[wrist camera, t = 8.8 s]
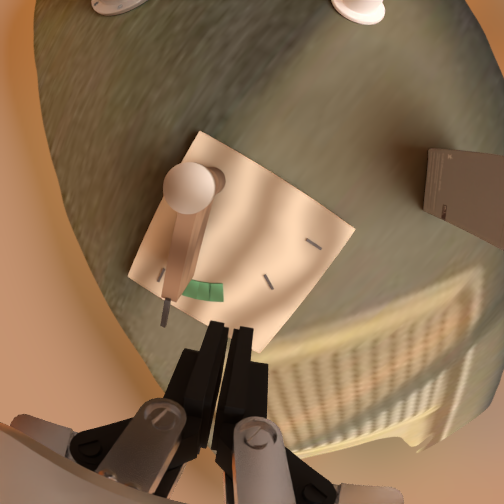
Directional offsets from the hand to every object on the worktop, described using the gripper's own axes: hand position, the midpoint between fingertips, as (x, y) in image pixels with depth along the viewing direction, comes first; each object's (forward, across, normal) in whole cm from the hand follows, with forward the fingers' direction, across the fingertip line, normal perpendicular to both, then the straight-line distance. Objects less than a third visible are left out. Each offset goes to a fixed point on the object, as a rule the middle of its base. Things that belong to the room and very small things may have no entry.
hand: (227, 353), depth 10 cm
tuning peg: (+20, +6, +2) cm, 21 cm away
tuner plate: (+22, +2, +4) cm, 22 cm away
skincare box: (+22, -23, -10) cm, 34 cm away
